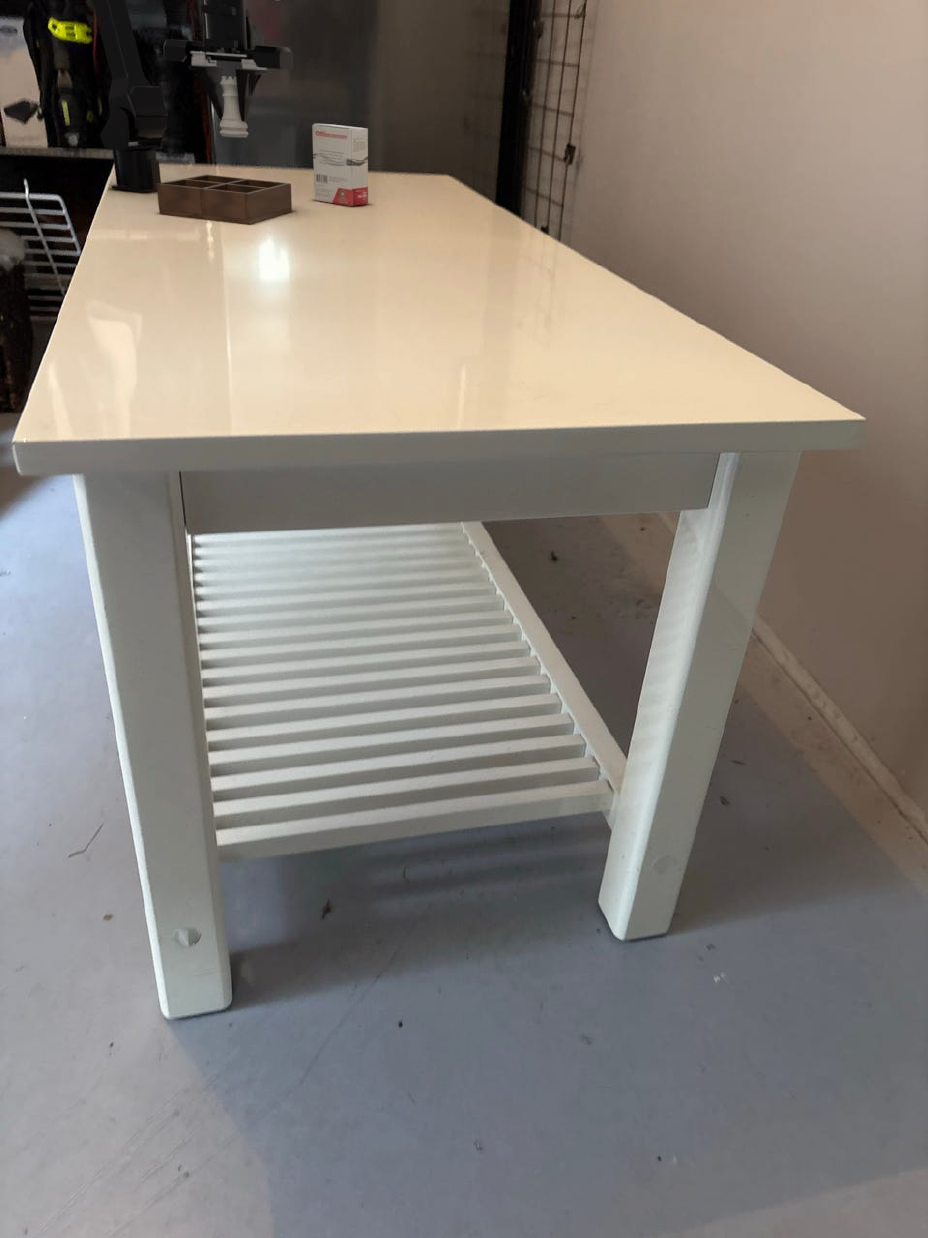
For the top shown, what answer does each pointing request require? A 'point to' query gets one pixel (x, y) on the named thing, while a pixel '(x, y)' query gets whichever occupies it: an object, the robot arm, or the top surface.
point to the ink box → (340, 164)
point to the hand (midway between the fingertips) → (233, 120)
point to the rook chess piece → (231, 110)
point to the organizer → (224, 198)
